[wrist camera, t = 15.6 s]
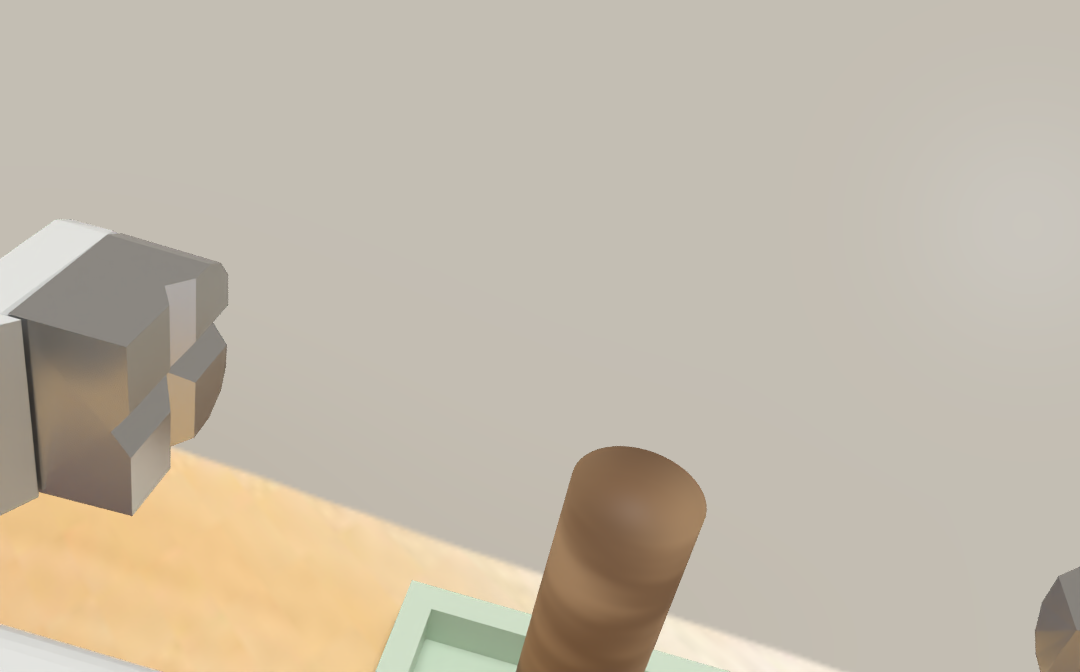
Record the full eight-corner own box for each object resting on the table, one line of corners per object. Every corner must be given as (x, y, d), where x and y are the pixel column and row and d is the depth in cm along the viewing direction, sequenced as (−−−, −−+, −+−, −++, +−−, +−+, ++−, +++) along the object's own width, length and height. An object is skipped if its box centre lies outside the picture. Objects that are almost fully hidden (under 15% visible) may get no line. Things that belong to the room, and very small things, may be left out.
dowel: (468, 839, 36) (560, 519, 28) (493, 745, 40) (582, 432, 31) (576, 872, 36) (703, 559, 27) (592, 774, 39) (709, 467, 31)
